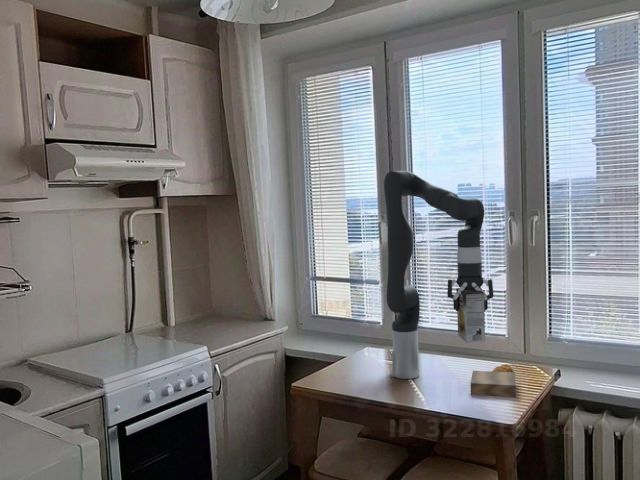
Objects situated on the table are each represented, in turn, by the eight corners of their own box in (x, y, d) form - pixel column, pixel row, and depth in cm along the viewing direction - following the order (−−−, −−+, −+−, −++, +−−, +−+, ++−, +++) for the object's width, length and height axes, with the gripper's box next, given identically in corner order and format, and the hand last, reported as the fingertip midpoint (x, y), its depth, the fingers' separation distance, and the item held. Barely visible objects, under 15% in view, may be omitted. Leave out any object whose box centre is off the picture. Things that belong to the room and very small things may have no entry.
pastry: (503, 382, 195) (503, 371, 194) (485, 378, 199) (485, 368, 199) (516, 375, 201) (515, 365, 201) (498, 372, 206) (498, 362, 206)
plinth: (470, 395, 182) (470, 383, 182) (473, 381, 196) (472, 370, 195) (516, 397, 178) (515, 385, 178) (515, 384, 191) (515, 372, 191)
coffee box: (457, 336, 185) (455, 288, 184) (476, 334, 185) (474, 286, 184) (466, 343, 176) (464, 292, 175) (486, 341, 176) (484, 291, 175)
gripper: (445, 262, 177) (446, 312, 178) (492, 262, 173) (493, 313, 174) (448, 259, 185) (449, 308, 185) (493, 259, 180) (494, 309, 181)
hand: (470, 311), depth 180 cm, fingers closed on coffee box, 8 cm apart
